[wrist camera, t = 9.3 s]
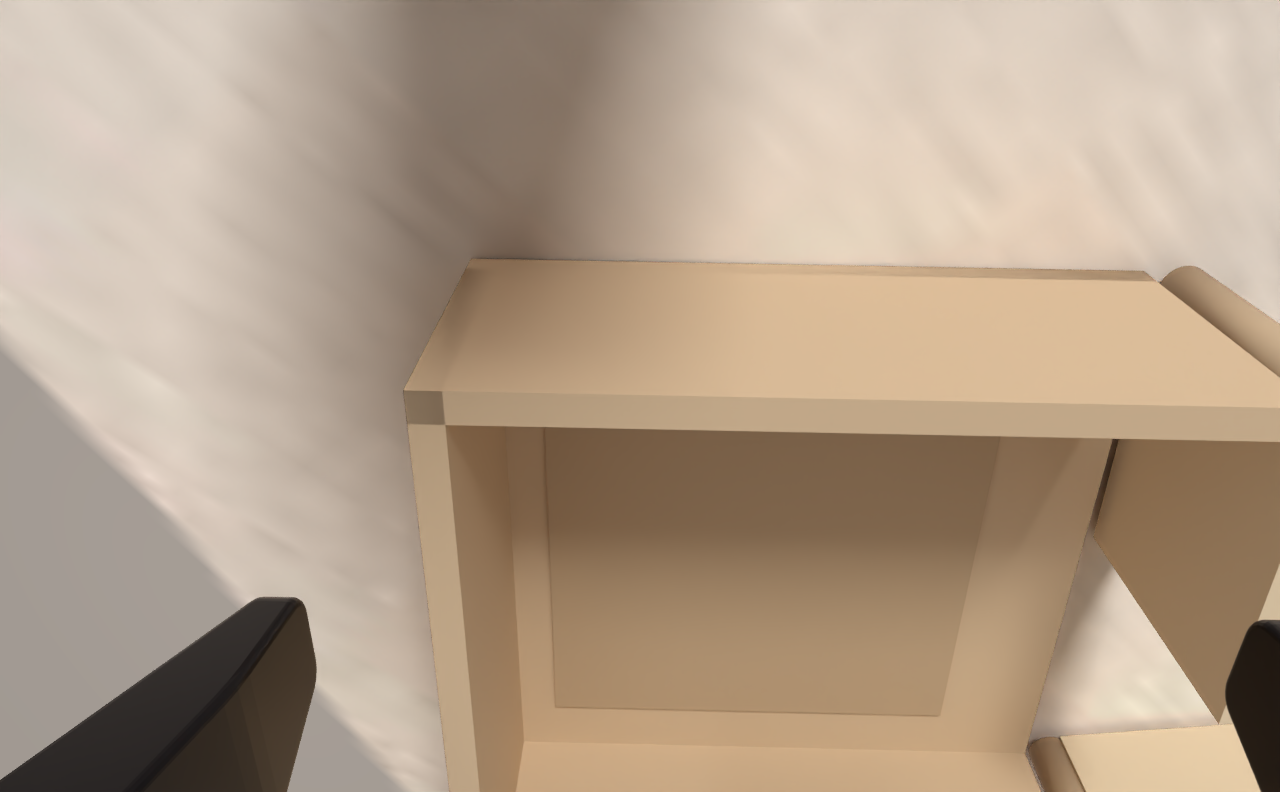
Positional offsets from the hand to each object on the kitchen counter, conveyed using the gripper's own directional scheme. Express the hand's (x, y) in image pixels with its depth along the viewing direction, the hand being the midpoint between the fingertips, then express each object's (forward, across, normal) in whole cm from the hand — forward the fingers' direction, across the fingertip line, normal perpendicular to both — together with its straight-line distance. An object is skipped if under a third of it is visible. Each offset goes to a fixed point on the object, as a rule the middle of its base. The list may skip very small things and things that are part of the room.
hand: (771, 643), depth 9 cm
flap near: (+12, -10, +4) cm, 16 cm away
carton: (+12, -2, +8) cm, 14 cm away
